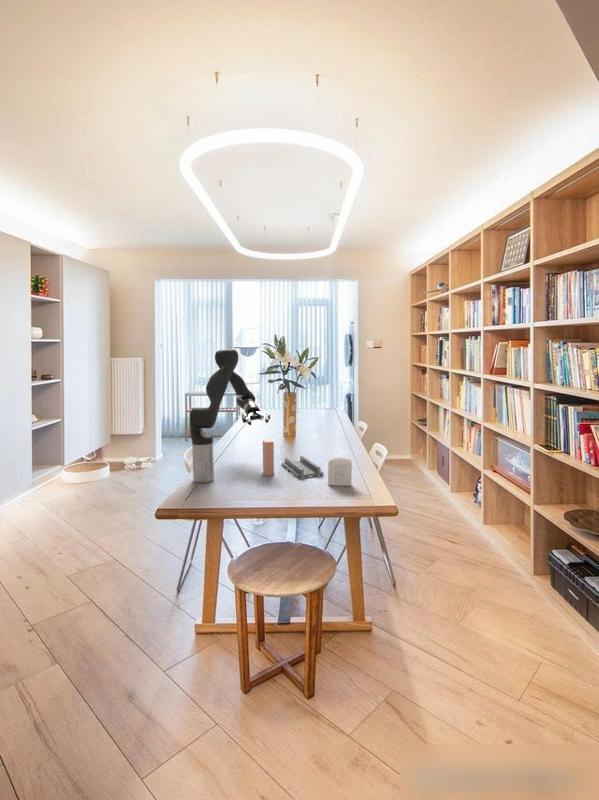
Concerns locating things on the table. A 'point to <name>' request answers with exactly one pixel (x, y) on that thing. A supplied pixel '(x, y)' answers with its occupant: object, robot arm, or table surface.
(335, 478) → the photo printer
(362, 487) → the table surface
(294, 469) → the track
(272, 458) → the panel block
